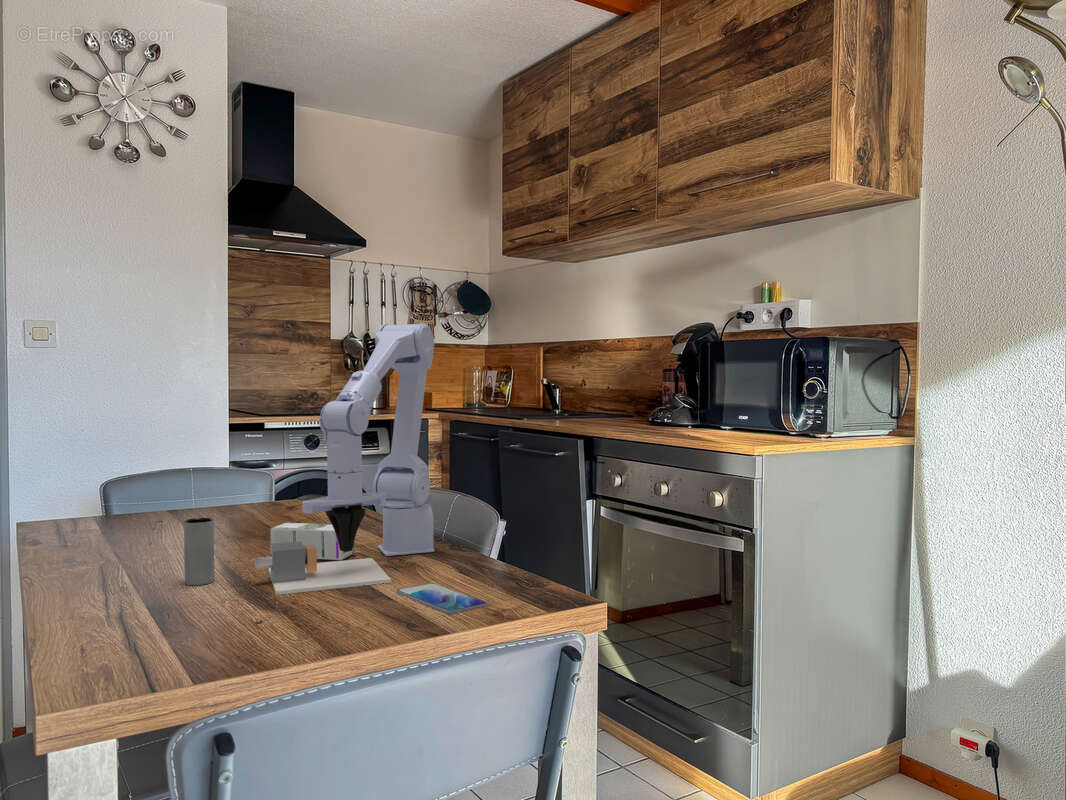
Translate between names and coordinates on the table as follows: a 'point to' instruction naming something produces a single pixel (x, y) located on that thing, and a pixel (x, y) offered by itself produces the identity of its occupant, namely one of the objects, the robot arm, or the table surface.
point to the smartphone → (441, 598)
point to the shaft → (309, 560)
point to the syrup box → (311, 538)
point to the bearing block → (287, 562)
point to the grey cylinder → (199, 551)
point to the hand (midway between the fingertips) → (346, 550)
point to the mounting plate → (336, 576)
